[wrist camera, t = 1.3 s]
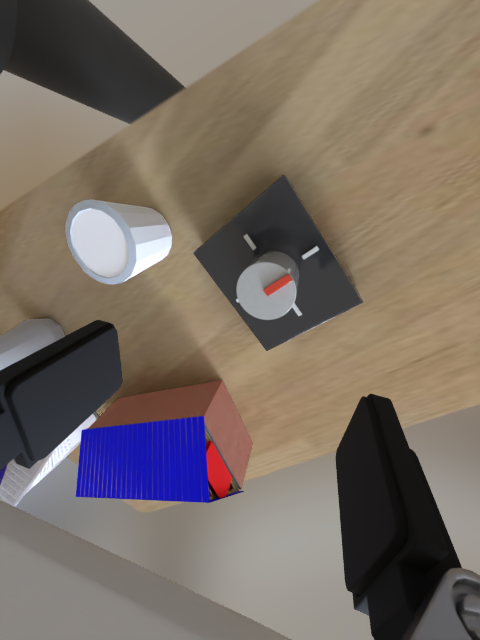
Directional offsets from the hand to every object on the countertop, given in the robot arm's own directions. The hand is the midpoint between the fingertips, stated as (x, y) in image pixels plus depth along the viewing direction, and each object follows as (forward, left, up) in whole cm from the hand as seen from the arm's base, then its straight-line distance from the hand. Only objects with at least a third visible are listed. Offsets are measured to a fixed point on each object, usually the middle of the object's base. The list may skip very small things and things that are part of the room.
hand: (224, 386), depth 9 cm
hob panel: (0, 0, -18) cm, 18 cm away
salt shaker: (-11, -33, -18) cm, 39 cm away
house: (+11, -25, -18) cm, 32 cm away
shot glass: (-11, -10, -18) cm, 23 cm away
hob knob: (0, 0, -14) cm, 14 cm away
